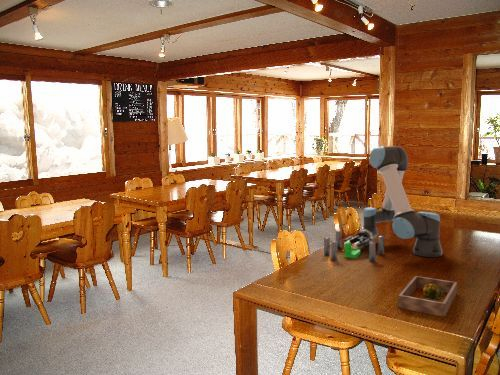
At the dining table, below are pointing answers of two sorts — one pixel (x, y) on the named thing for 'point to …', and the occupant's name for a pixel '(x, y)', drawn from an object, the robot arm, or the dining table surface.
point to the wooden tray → (424, 304)
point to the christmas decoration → (432, 292)
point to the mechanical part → (351, 251)
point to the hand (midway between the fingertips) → (349, 245)
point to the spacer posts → (337, 244)
